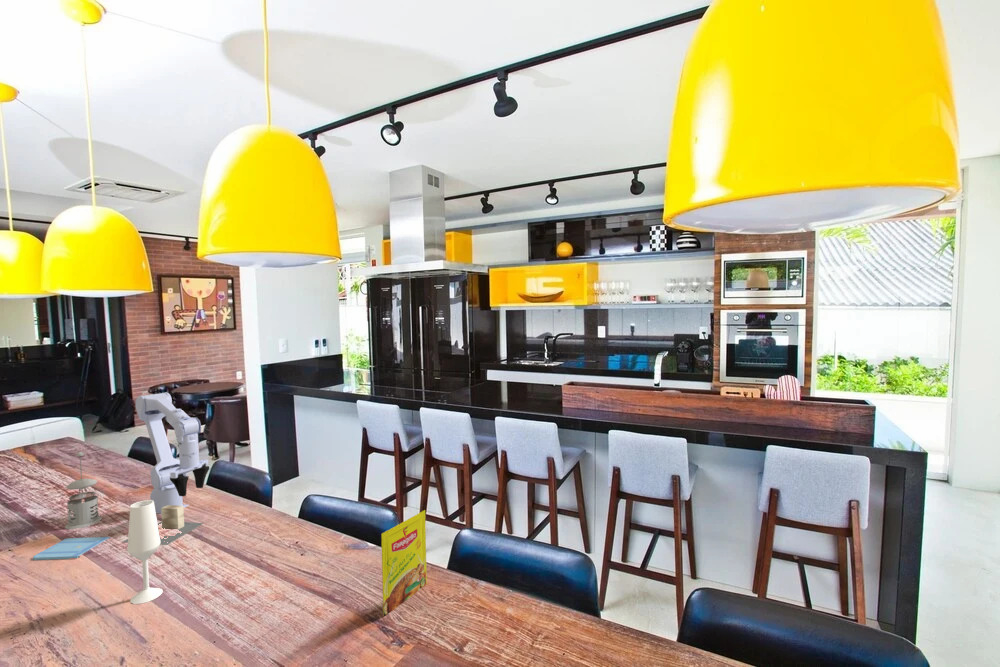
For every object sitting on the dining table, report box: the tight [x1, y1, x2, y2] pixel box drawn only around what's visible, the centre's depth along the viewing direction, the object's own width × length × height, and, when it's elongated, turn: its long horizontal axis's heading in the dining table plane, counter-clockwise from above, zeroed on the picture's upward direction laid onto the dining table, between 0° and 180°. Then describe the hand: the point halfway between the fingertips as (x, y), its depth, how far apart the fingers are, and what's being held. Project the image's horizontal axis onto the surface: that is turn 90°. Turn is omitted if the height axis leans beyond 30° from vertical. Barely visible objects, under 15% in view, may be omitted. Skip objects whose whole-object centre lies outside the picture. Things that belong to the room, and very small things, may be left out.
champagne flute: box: [127, 499, 164, 605], centre depth 118 cm, size 7×7×24 cm
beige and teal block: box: [161, 505, 185, 529], centre depth 156 cm, size 6×3×7 cm, turn 82°
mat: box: [122, 520, 205, 546], centre depth 153 cm, size 16×15×1 cm
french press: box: [64, 451, 103, 530], centre depth 162 cm, size 10×12×25 cm
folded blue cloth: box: [32, 536, 110, 561], centre depth 144 cm, size 14×12×1 cm
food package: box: [380, 509, 428, 618], centre depth 115 cm, size 15×1×20 cm, turn 148°
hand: (191, 491), depth 163 cm, fingers open, 7 cm apart
